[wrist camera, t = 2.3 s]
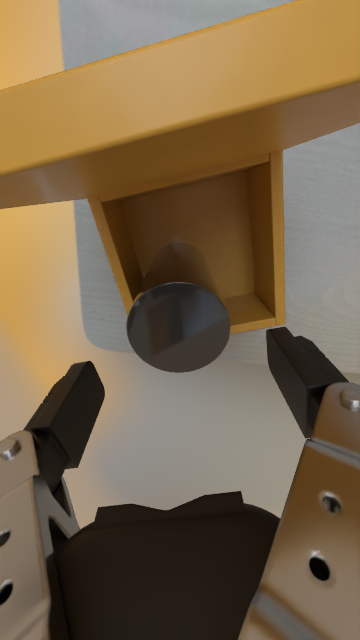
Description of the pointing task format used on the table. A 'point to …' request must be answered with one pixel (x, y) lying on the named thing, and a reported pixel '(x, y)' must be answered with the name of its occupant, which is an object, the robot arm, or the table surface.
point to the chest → (206, 233)
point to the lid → (183, 104)
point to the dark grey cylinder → (178, 312)
